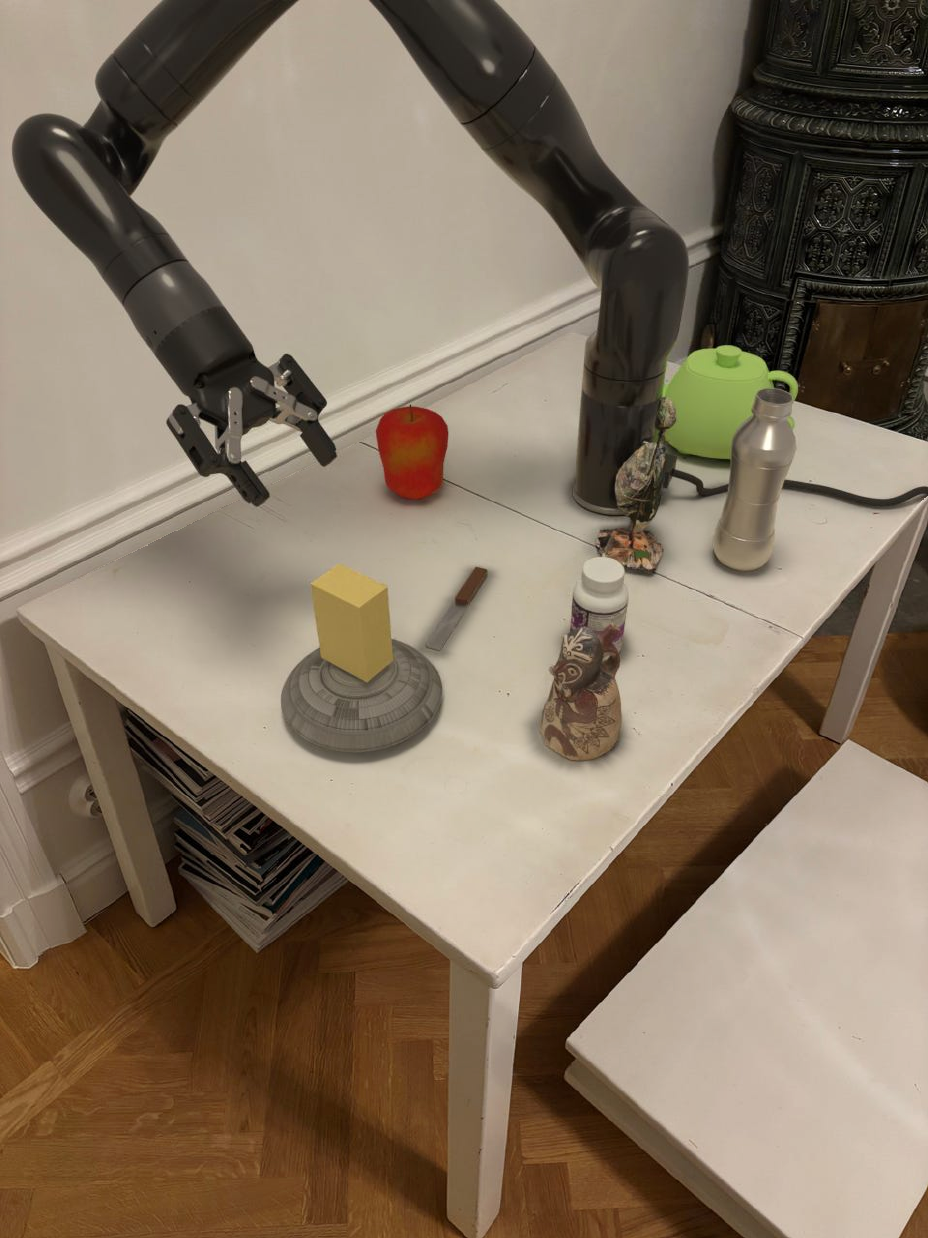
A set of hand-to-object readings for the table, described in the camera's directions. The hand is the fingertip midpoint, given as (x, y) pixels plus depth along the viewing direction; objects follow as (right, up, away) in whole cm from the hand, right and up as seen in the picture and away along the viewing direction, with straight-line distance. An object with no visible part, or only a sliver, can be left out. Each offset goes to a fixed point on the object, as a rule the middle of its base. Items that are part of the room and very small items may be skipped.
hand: (298, 481), depth 85 cm
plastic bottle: (+46, -6, +21) cm, 51 cm away
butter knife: (+15, -11, +15) cm, 24 cm away
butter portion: (+5, -16, 0) cm, 17 cm away
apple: (+9, +3, +33) cm, 34 cm away
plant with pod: (+34, -4, +23) cm, 41 cm away
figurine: (+26, -23, +1) cm, 34 cm away
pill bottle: (+28, -15, +10) cm, 34 cm away
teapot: (+47, +12, +42) cm, 64 cm away
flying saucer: (+6, -20, +4) cm, 22 cm away
